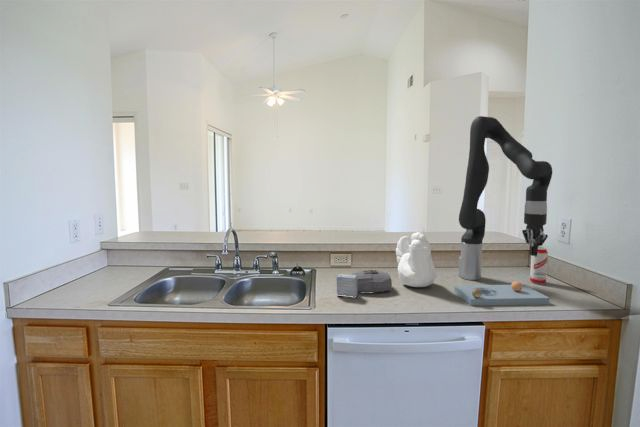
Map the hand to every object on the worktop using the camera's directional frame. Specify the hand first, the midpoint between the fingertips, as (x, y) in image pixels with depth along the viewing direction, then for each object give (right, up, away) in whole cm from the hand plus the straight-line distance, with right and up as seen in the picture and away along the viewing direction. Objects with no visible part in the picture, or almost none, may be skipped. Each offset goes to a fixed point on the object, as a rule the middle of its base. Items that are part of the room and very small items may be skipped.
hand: (533, 255), depth 136 cm
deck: (-13, -17, +2) cm, 22 cm away
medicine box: (-74, -18, +7) cm, 76 cm away
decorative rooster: (-42, -16, +22) cm, 50 cm away
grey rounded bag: (-64, -17, +15) cm, 68 cm away
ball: (-6, -13, +1) cm, 14 cm away
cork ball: (-25, -14, -5) cm, 29 cm away
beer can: (+14, -15, +19) cm, 28 cm away
